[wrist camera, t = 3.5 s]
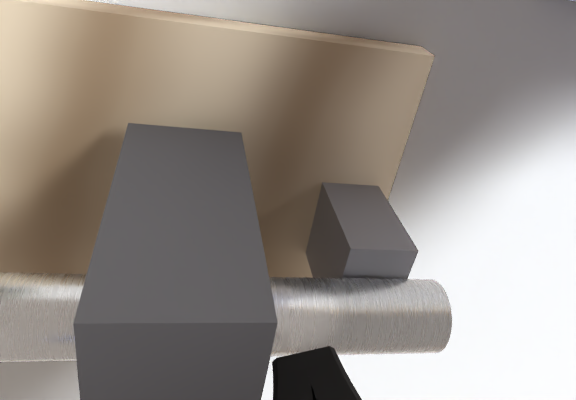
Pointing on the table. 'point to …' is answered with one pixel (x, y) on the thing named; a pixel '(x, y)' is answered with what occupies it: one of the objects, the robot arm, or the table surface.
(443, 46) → the table surface
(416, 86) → the pipe rig
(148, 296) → the tall grey prism
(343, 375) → the robot arm
